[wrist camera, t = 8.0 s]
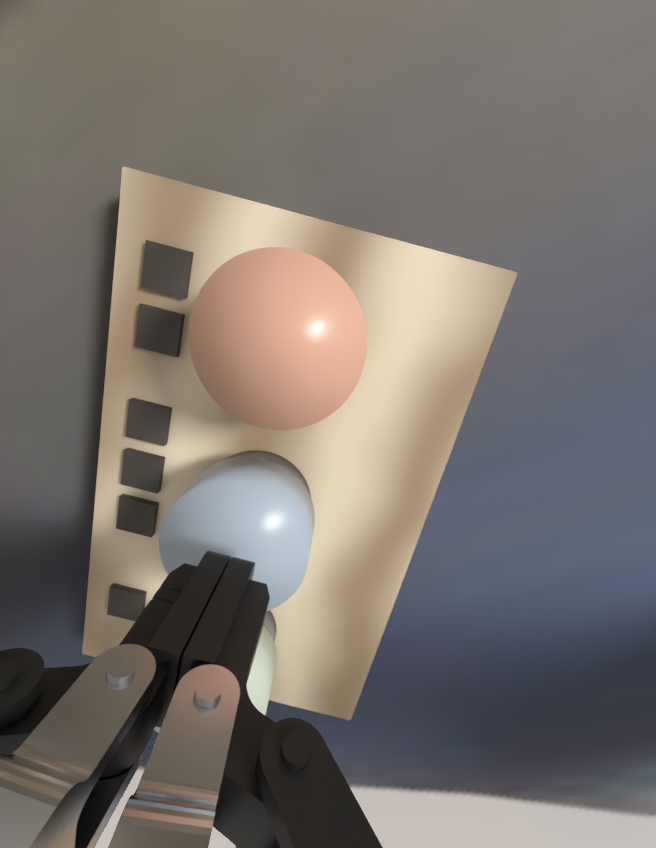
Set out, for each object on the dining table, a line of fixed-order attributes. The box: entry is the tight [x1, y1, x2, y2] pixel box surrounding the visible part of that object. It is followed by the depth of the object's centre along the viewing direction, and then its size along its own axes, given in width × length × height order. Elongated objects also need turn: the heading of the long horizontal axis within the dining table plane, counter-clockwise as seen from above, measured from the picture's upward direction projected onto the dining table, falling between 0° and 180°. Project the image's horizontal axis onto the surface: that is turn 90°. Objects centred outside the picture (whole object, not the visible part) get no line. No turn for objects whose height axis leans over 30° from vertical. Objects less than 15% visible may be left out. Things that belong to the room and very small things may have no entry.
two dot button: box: [189, 247, 367, 430], centre depth 12 cm, size 5×5×2 cm
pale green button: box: [154, 626, 277, 733], centre depth 16 cm, size 5×5×2 cm
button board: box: [82, 167, 517, 720], centre depth 17 cm, size 14×22×3 cm, turn 166°
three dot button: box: [159, 456, 315, 611], centre depth 14 cm, size 5×5×2 cm
